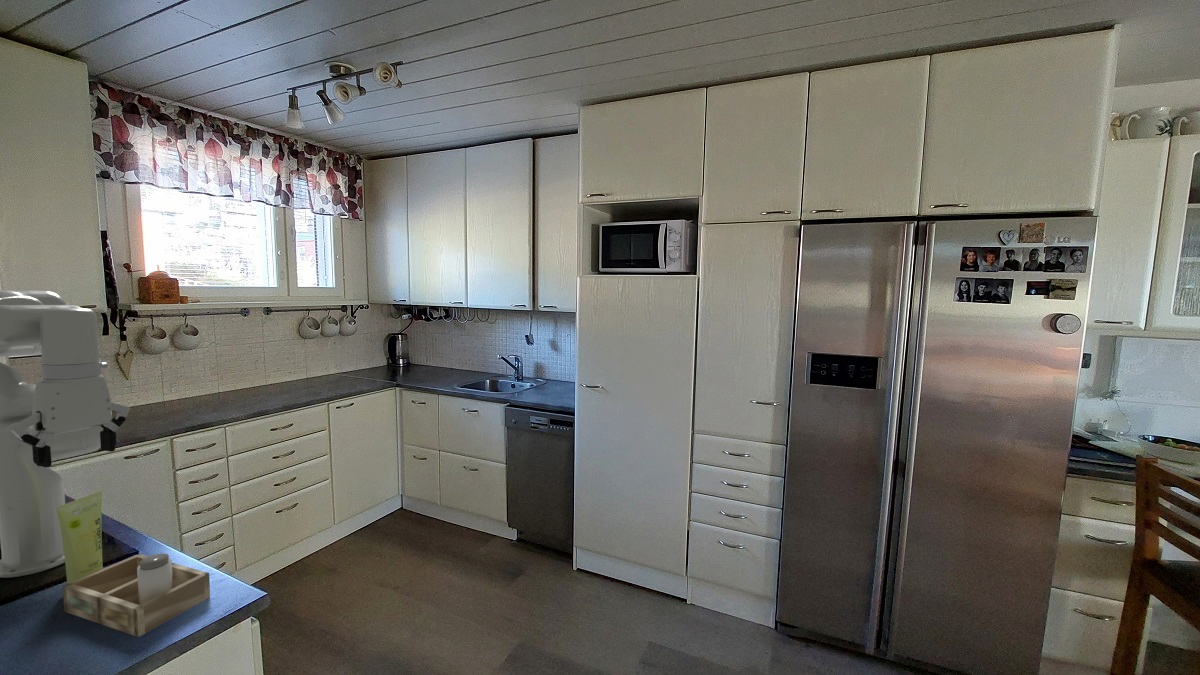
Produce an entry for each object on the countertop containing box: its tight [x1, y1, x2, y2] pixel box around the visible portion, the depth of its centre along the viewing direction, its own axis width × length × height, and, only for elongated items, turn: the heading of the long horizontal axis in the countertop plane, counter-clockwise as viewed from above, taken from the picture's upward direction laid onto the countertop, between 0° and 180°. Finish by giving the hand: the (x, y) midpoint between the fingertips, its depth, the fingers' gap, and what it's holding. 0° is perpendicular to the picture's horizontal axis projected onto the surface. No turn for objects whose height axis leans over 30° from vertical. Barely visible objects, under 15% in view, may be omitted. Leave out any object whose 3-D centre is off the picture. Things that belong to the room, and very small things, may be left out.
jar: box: [137, 553, 173, 605], centre depth 93 cm, size 5×5×10 cm
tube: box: [57, 490, 104, 584], centre depth 98 cm, size 6×5×20 cm
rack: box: [62, 553, 211, 638], centre depth 94 cm, size 20×12×6 cm, turn 73°
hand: (77, 457), depth 97 cm, fingers open, 9 cm apart
